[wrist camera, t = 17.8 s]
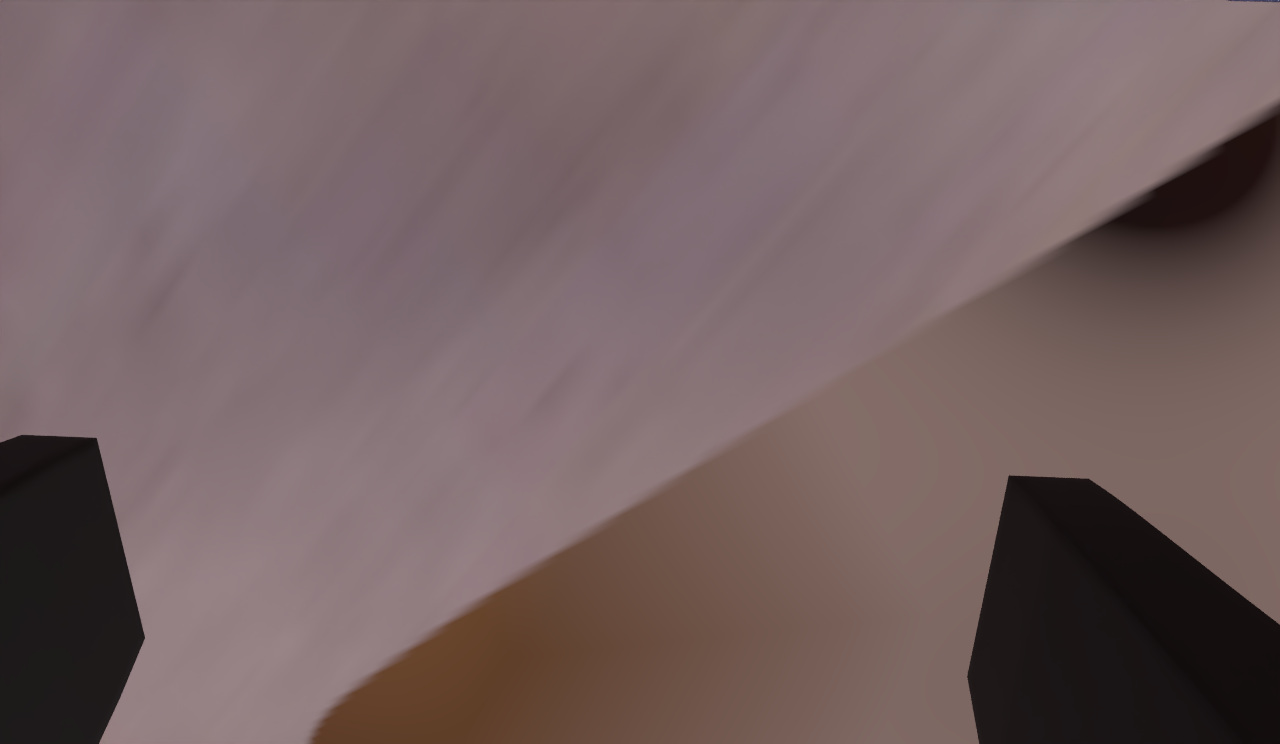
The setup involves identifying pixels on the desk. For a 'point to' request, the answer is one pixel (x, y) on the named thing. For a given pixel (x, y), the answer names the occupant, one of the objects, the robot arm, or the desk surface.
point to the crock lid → (1258, 0)
